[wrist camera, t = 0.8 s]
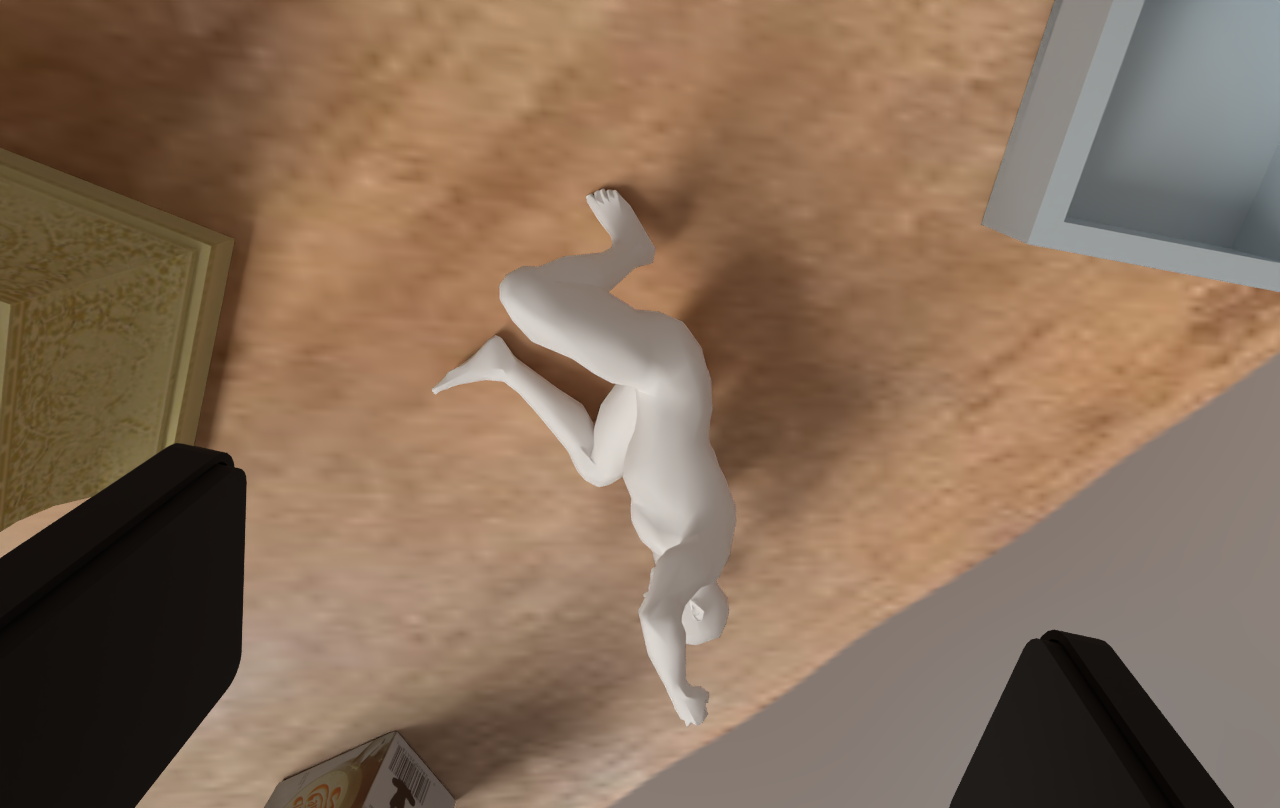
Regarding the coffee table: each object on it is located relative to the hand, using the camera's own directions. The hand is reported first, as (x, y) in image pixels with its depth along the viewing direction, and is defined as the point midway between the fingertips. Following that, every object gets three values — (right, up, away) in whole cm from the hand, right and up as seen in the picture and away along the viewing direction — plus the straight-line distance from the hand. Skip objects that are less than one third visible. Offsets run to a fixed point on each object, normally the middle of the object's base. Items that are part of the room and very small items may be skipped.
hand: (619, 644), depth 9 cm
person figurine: (+1, +3, +29) cm, 29 cm away
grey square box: (+21, +15, +23) cm, 34 cm away
